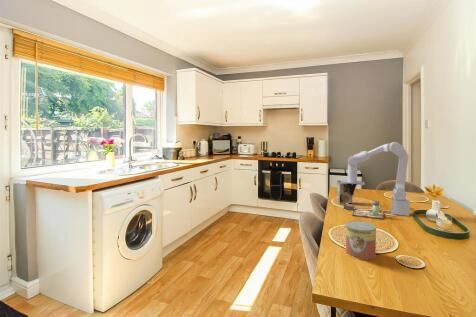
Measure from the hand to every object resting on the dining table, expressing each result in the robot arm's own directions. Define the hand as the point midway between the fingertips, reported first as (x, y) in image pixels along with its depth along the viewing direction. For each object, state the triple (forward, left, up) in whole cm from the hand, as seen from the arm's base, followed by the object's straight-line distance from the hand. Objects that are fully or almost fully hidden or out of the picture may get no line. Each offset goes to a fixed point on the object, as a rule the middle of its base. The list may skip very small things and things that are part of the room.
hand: (352, 195), depth 174 cm
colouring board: (-10, +10, -9) cm, 17 cm away
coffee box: (+7, -14, -10) cm, 18 cm away
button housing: (+2, +1, -9) cm, 10 cm away
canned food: (-11, +69, -10) cm, 71 cm away
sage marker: (-14, +11, -8) cm, 20 cm away
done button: (+2, +1, -8) cm, 9 cm away
